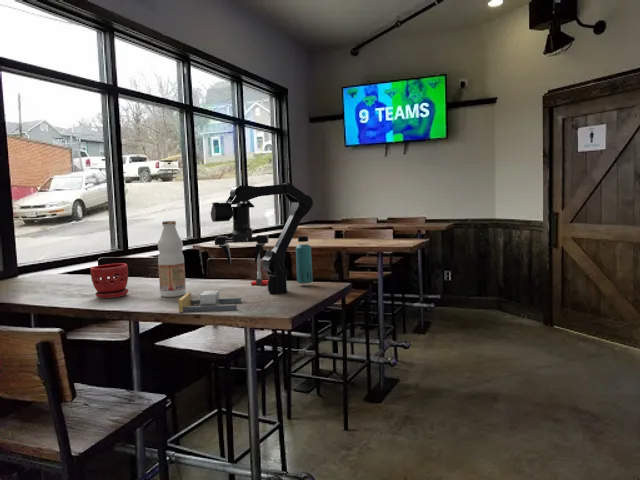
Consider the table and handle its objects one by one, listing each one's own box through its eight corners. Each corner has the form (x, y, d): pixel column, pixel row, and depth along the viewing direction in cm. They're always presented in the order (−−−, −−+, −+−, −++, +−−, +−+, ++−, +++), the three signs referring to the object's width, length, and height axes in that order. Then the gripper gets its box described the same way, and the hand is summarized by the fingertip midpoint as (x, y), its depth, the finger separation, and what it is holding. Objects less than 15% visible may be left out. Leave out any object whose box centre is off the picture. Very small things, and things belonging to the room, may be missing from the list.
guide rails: (241, 302, 172) (240, 290, 172) (236, 309, 160) (235, 297, 160) (187, 304, 172) (187, 292, 172) (179, 312, 159) (178, 299, 159)
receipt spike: (255, 282, 215) (248, 285, 206) (254, 252, 215) (248, 254, 206) (274, 282, 214) (268, 285, 205) (273, 252, 214) (268, 254, 205)
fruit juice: (157, 297, 185) (152, 222, 183) (164, 293, 195) (159, 221, 193) (182, 296, 186) (178, 221, 183) (188, 292, 195) (184, 220, 193)
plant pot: (112, 292, 200) (110, 262, 199) (137, 294, 194) (135, 263, 193) (84, 298, 189) (82, 267, 188) (109, 300, 183) (107, 268, 182)
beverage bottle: (307, 287, 196) (305, 236, 195) (293, 286, 200) (291, 236, 198) (316, 285, 202) (314, 235, 200) (302, 284, 205) (300, 235, 204)
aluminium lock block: (219, 305, 169) (218, 290, 169) (215, 309, 163) (215, 294, 162) (204, 305, 169) (204, 290, 169) (200, 310, 162) (199, 294, 162)
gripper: (210, 222, 172) (213, 267, 173) (265, 220, 172) (267, 265, 173) (216, 221, 183) (218, 263, 184) (267, 219, 183) (269, 261, 185)
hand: (243, 263), depth 181 cm, fingers open, 9 cm apart
